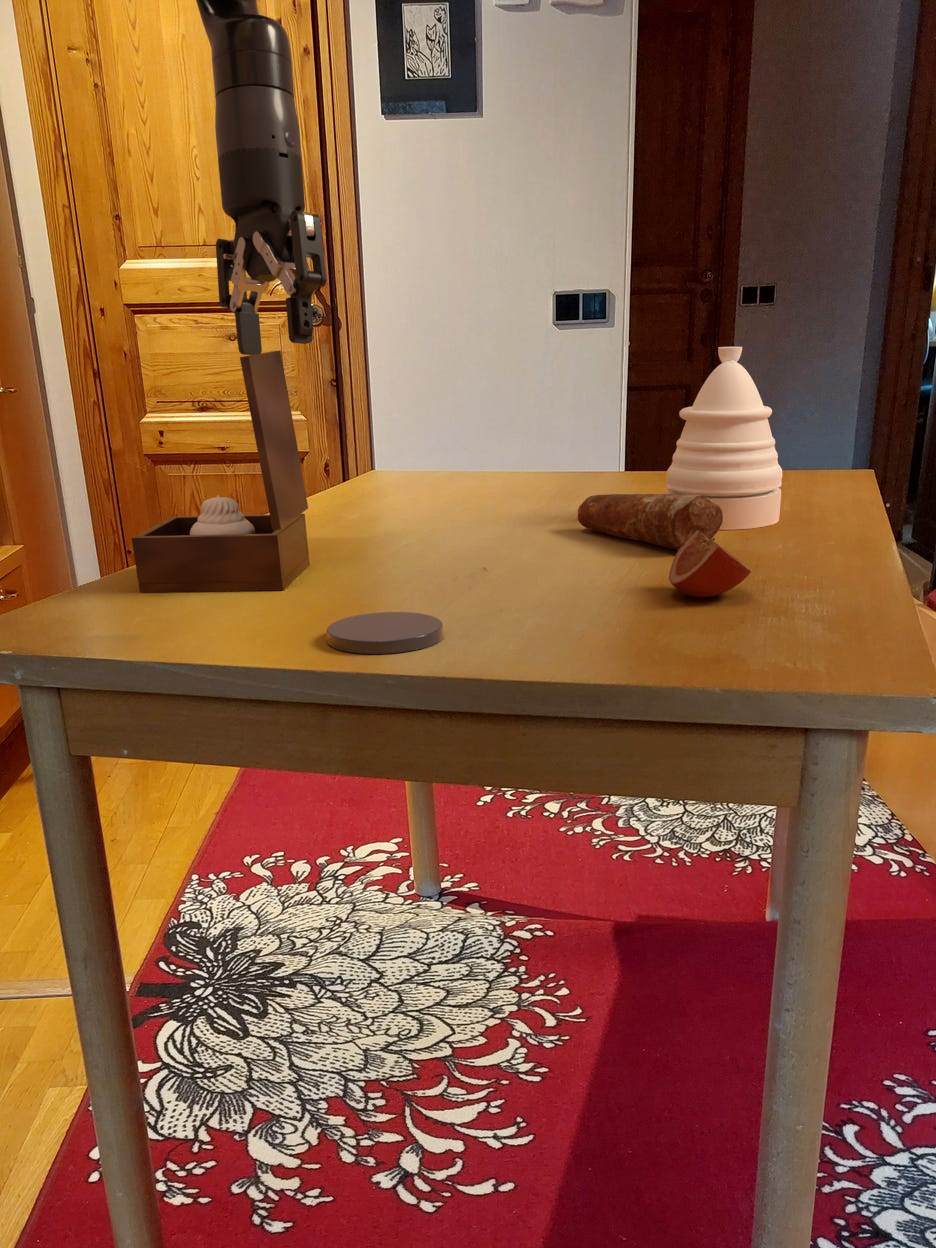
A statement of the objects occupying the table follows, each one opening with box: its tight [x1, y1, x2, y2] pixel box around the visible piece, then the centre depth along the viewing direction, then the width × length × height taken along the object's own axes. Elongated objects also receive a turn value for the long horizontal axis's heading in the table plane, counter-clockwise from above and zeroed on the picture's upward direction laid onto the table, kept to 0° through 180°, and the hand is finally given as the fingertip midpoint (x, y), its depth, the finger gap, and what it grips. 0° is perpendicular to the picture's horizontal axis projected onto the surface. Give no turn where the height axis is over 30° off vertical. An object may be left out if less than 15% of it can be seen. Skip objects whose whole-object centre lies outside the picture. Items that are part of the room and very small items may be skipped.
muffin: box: [190, 494, 255, 535], centre depth 112 cm, size 6×6×7 cm
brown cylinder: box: [576, 493, 723, 551], centre depth 123 cm, size 6×19×6 cm, turn 31°
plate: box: [326, 611, 444, 655], centre depth 91 cm, size 9×9×1 cm
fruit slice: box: [668, 530, 752, 598], centre depth 99 cm, size 8×7×5 cm
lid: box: [239, 349, 309, 530], centre depth 107 cm, size 14×12×1 cm
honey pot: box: [664, 346, 783, 531], centre depth 129 cm, size 13×13×18 cm
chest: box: [131, 513, 311, 593], centre depth 112 cm, size 14×12×5 cm
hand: (275, 348), depth 110 cm, fingers open, 8 cm apart
